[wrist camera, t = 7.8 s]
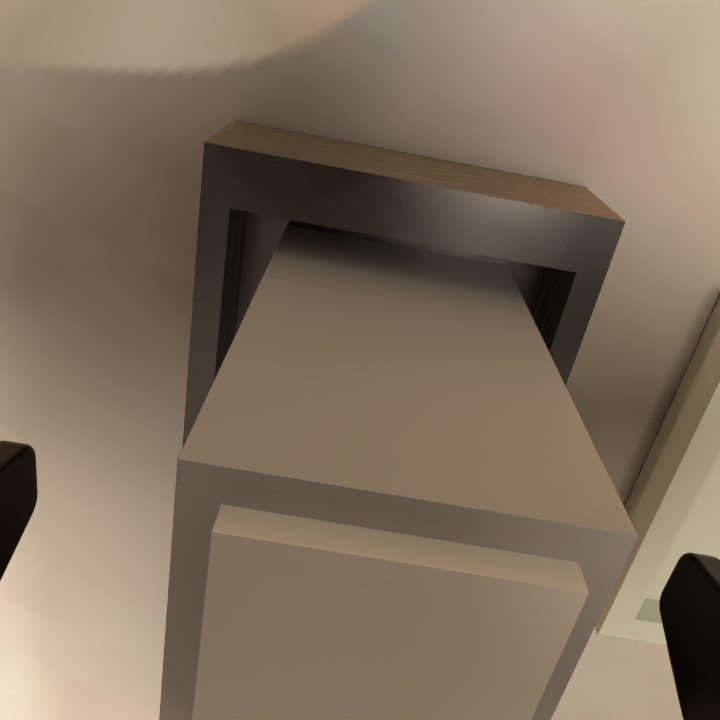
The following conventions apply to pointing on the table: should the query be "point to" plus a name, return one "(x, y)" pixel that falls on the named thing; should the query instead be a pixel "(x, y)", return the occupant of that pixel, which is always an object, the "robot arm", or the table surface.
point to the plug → (385, 501)
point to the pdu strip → (386, 230)
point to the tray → (672, 498)
